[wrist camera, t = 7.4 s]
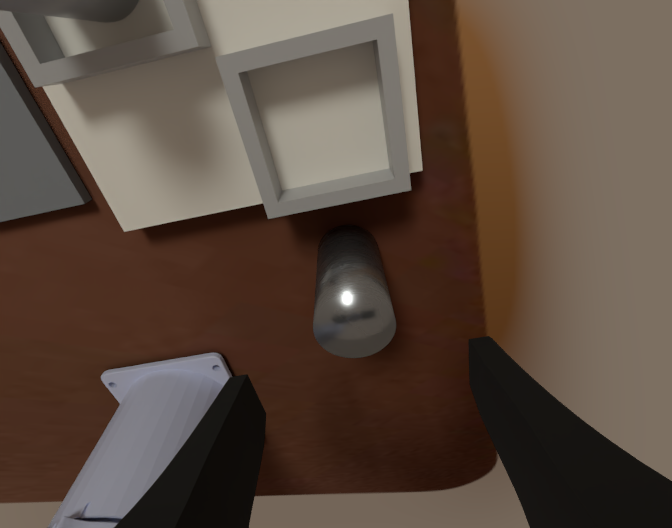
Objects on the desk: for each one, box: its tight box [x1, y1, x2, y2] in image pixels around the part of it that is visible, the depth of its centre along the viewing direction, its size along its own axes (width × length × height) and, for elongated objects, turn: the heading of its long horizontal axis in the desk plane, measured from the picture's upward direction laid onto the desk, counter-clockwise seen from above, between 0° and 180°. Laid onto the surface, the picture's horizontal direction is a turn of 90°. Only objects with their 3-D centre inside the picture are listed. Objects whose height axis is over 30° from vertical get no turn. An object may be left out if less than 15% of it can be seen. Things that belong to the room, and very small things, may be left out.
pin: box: [313, 225, 396, 358], centre depth 17 cm, size 3×3×6 cm
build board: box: [0, 0, 423, 232], centre depth 11 cm, size 12×14×7 cm
